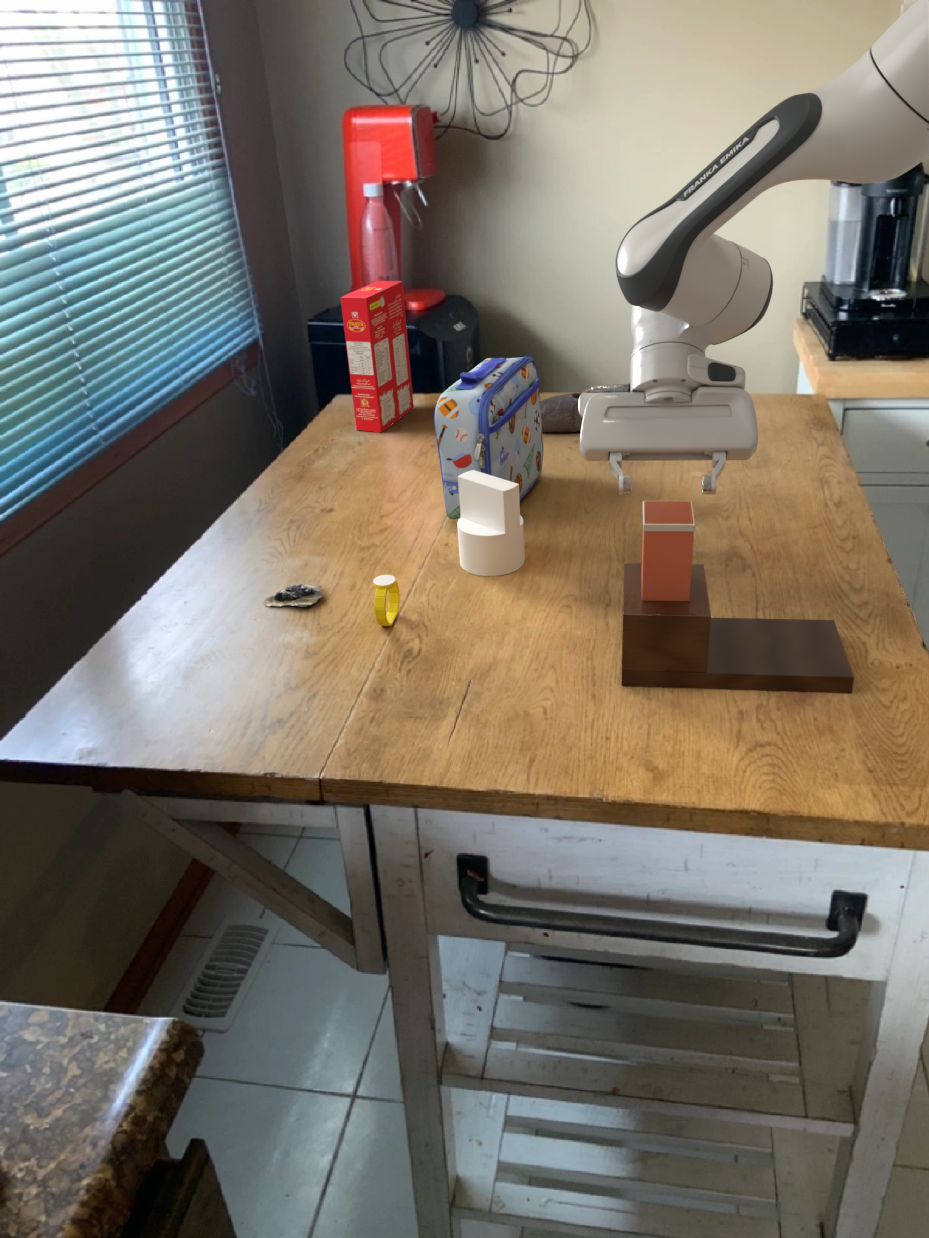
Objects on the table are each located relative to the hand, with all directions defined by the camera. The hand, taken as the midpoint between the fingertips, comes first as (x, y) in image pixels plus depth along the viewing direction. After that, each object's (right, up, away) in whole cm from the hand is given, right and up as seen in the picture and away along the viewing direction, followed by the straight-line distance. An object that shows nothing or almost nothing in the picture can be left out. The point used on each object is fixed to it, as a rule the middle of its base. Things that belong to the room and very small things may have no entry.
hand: (666, 493), depth 111 cm
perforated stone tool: (-4, +20, +69) cm, 72 cm away
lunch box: (-18, +4, +42) cm, 46 cm away
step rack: (+7, -19, -2) cm, 20 cm away
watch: (-33, -15, +11) cm, 37 cm away
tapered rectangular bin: (-1, -11, -5) cm, 12 cm away
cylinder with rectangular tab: (-19, -7, +24) cm, 31 cm away
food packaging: (-39, +25, +81) cm, 93 cm away
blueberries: (-46, -12, +17) cm, 50 cm away
